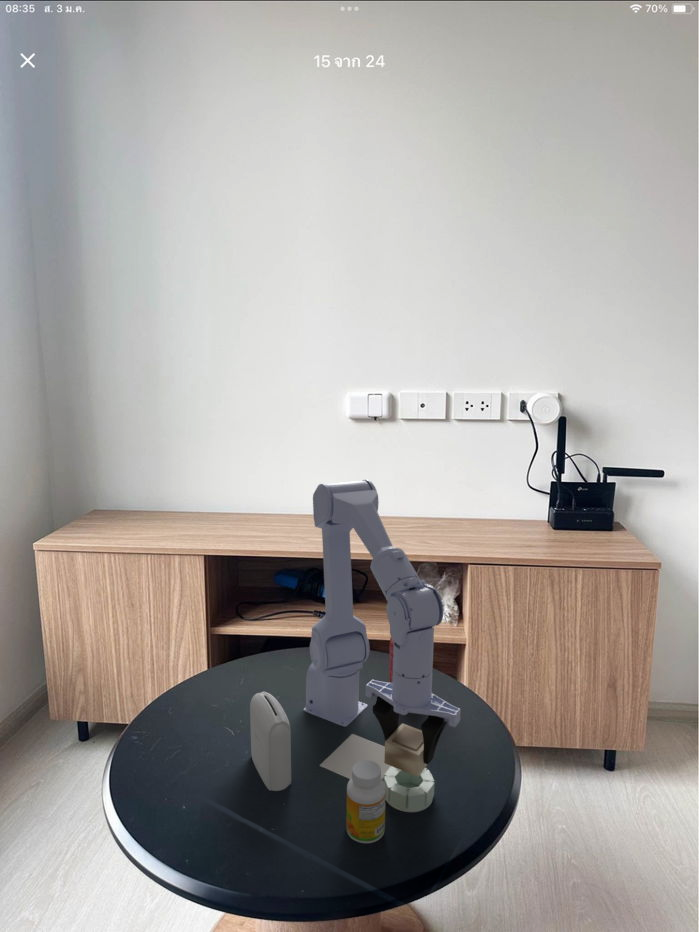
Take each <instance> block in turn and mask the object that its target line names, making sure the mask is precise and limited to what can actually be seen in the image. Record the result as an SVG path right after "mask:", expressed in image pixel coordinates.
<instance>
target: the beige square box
mask: <svg viewBox="0 0 699 932" xmlns="http://www.w3.org/2000/svg"><path fill="white" fill-rule="evenodd" d="M384 746H385V759H384V763H385V764H387V765H390V766H392V767H395V768H397V769H400V770H402V771H404V772H407V773H409V774H412V775H414V776H417V777H418V776H419V775H420V774H421V773H422V771H423V770H424V769H425V768H427V766H428V765H429V764H425V763H424V760H423V751H424V741H423V734H422V729H419V728H416V727H414V726H411V725H408V724H405V723H401V724H400V725H398V728H397V730H396V731H395V732H394V733H393V734H392V735H391V736H390V737H389V738H388V739H387V740H386V741H384Z"/></svg>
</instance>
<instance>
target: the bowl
mask: <svg viewBox="0 0 699 932" xmlns="http://www.w3.org/2000/svg"><path fill="white" fill-rule="evenodd" d="M383 782H384V784H385V792H386V795H385V802H387V803H388V805H389V806H390V807H392V808H394V809H396V810H399V811H402V812H404V813H405V812H406V813H417V812H421V811H422V812H423V810H426V809H427V808H428V807H430V806H431V804H432V802H433V800H434V796H435V779H434V777H433V775H432V773H431V771H430V770H429V769H428V768H427V767H425V769H424V770H423V771H422V773H421V774H420V775H419V776H418V777H417V776H414V775H412V774H409V773H407V772H404V771H402V770H400V769H397V768H395V767H392V766H391V767H390V768H389V769H388V771H387V772H386V773H385V774H384V777H383Z"/></svg>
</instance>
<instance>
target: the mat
mask: <svg viewBox="0 0 699 932" xmlns="http://www.w3.org/2000/svg"><path fill="white" fill-rule="evenodd" d="M384 759H385V745H382V744H380V743H377V742H374V741H372V740H369V739H367V738H364V737H362V736H359V735H357V734H354V733H351V734H350V735H349V736H348V737H347V738H346V739H345V740H344V741H343V742H342V743H341V744H340V745H339V746H337V748H336V749H334V751H332V752H331V754H330V755H329V756H328V757H327V758H325V759H324V760H323V761H322V763H320V764H319V767H321V768H322V769H323V768H324V769H325V770H328V771H331V772H332V773H334V774H337V775H340V776H342V777H345V778H346V779H348V780H350V779H351V778H352V768H353V766H354V764H356V763H357V762H359V761H363V760H370V761H373V762H375V763H377V764H378V765H379V766H380V768H381V779H382V780H384V774H385V773H386V772H387V771H388V769H389V768H390V767H391V766H390V765H387V764H385V763H384Z"/></svg>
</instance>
